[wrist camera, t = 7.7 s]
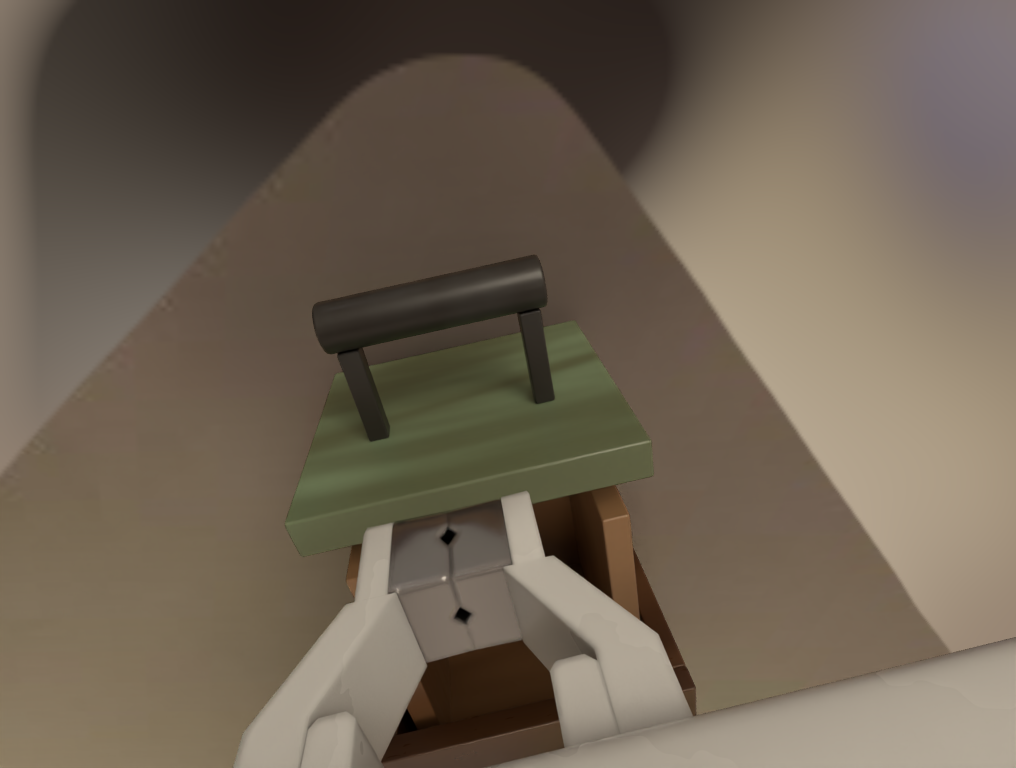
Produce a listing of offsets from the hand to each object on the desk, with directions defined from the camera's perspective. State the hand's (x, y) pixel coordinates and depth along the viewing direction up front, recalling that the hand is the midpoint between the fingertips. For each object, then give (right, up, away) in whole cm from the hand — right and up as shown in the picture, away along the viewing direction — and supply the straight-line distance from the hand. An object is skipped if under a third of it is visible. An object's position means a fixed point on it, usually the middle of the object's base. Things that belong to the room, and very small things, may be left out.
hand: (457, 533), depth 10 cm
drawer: (0, +1, +13) cm, 13 cm away
